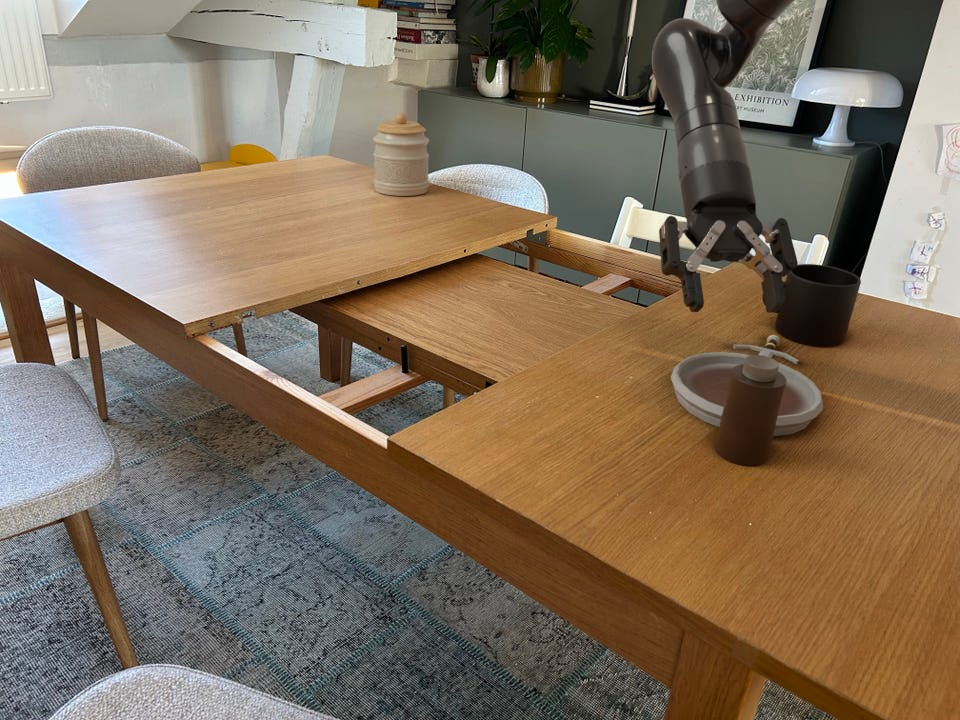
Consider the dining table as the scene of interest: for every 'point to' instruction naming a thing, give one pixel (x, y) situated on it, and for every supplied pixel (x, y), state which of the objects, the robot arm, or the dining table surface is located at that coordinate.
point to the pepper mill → (750, 411)
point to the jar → (401, 158)
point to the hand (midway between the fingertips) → (736, 309)
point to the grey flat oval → (708, 380)
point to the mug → (817, 304)
